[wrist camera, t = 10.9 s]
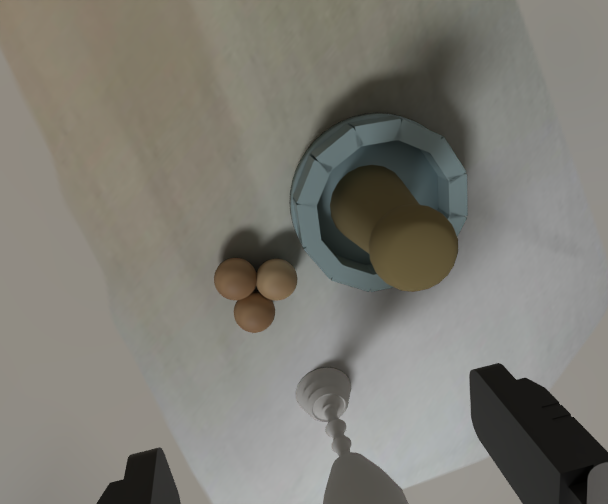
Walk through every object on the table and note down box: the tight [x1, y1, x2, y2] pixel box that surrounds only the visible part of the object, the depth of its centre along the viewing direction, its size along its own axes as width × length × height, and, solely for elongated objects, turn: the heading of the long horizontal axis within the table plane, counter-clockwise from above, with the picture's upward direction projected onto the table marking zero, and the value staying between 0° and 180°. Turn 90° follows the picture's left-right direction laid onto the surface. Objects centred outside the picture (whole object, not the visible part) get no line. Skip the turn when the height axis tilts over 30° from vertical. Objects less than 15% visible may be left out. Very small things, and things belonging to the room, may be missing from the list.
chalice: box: [296, 367, 408, 504], centre depth 38 cm, size 7×7×18 cm
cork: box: [330, 165, 458, 292], centre depth 34 cm, size 6×6×11 cm
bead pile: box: [214, 258, 297, 333], centre depth 39 cm, size 6×6×3 cm
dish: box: [290, 113, 468, 292], centre depth 39 cm, size 13×13×3 cm
